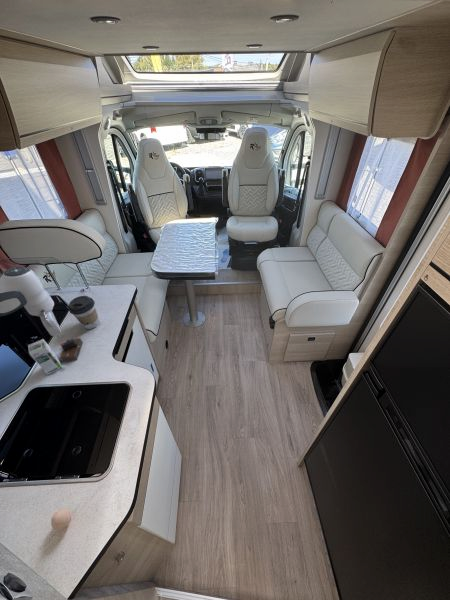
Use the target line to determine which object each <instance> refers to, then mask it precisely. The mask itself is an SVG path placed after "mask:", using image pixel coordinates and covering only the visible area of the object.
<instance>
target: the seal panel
mask: <svg viewBox="0 0 450 600" xmlns="http://www.w3.org/2000/svg"><path fill="white" fill-rule="evenodd" d="M71 339H73V340H74V342H75V343H76V345H77V346H75V347H73V348H71V349H69V350H67V351H64V350H63V348H62V347H61V348H59V350H62V351H61V354H60V356H59V360H60V361H62V362H63V363H65V362H72V361H77V360H78V358H79V356H80V353H81V350H82V346H83V343H84V342H83V340H82V339H81V337H79V338H71ZM71 339H66V341H65V342H67V341H69V340H71Z"/></svg>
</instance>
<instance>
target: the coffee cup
mask: <svg viewBox="0 0 450 600" xmlns="http://www.w3.org/2000/svg"><path fill="white" fill-rule="evenodd" d="M95 305H96V303H95V301H94V299H93V297H90V296H88V295H79V296H76V297H75V298H73V299H71V301H70V302H69V303H68V307H67V308H68V312H69V313H70V314H71V315H73V317H75V319H76V320H77V321H78V322H79V324H81V326H83V328H85V329H86V330H93V329H95V328H97V327H98V326H99V324H100V319H99V315H98V311H97V309H96V306H95Z"/></svg>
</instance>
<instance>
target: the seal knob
mask: <svg viewBox="0 0 450 600" xmlns="http://www.w3.org/2000/svg"><path fill="white" fill-rule="evenodd" d="M73 339H74V338H71V340H70V339H68V340H69V341H67V340H66V341H67V342H66V341H65V342H62V343H60V347H61V348H63V349H62V351H63V350H64V351H67V350H69V349H71V348H73V347H75V346H77V345H76V343H75V342H74V340H73Z"/></svg>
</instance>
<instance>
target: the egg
mask: <svg viewBox="0 0 450 600" xmlns="http://www.w3.org/2000/svg"><path fill="white" fill-rule="evenodd" d="M71 520H72V512H71V511H70V509H68V508H60V509H58V510H57V511H55V512H54V513H53V515H52V517H51V521H50V524H51V527H52V529H54V530H56V531H61V530H64V529H65V528H66V527H67V526H68V525H69V524H70V522H71Z"/></svg>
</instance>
